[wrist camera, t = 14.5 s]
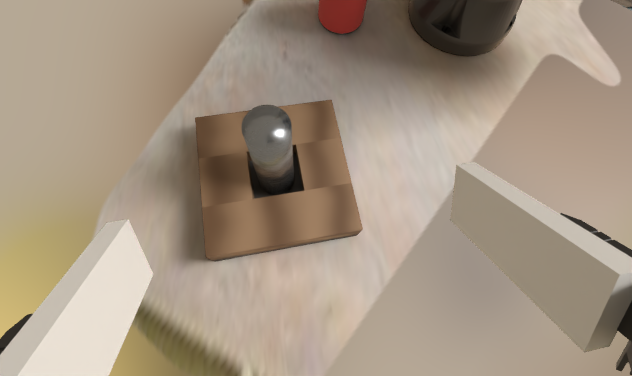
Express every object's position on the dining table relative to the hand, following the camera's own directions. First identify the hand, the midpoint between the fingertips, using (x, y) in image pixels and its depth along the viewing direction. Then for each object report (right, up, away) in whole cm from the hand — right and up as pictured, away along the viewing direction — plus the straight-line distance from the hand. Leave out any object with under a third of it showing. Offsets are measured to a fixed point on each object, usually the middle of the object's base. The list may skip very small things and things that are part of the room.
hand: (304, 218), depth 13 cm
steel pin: (-4, +2, +24) cm, 24 cm away
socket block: (-4, +2, +25) cm, 25 cm away
